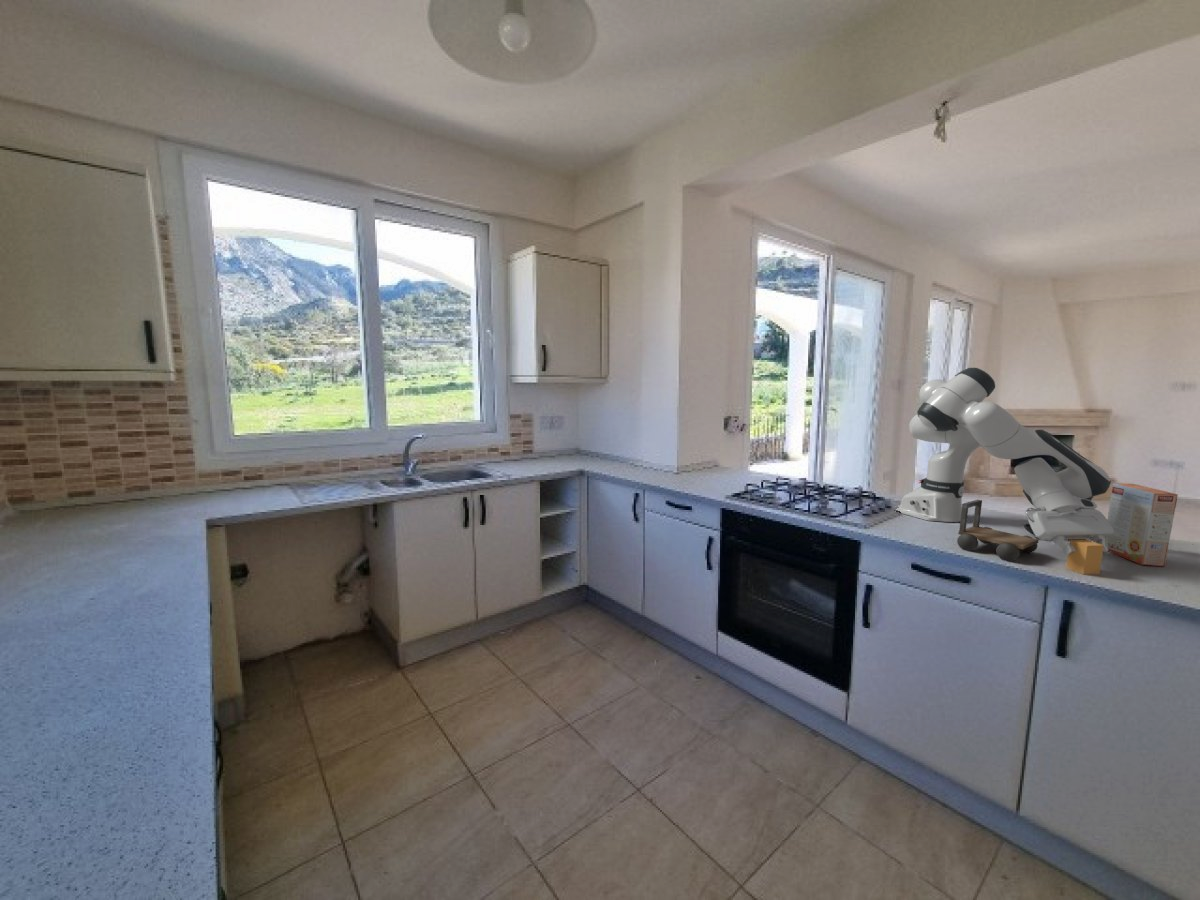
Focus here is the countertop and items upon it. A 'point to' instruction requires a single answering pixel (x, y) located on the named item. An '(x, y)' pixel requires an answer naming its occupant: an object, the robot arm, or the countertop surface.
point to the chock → (1085, 557)
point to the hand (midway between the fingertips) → (1087, 552)
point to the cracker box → (1140, 523)
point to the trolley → (992, 536)
